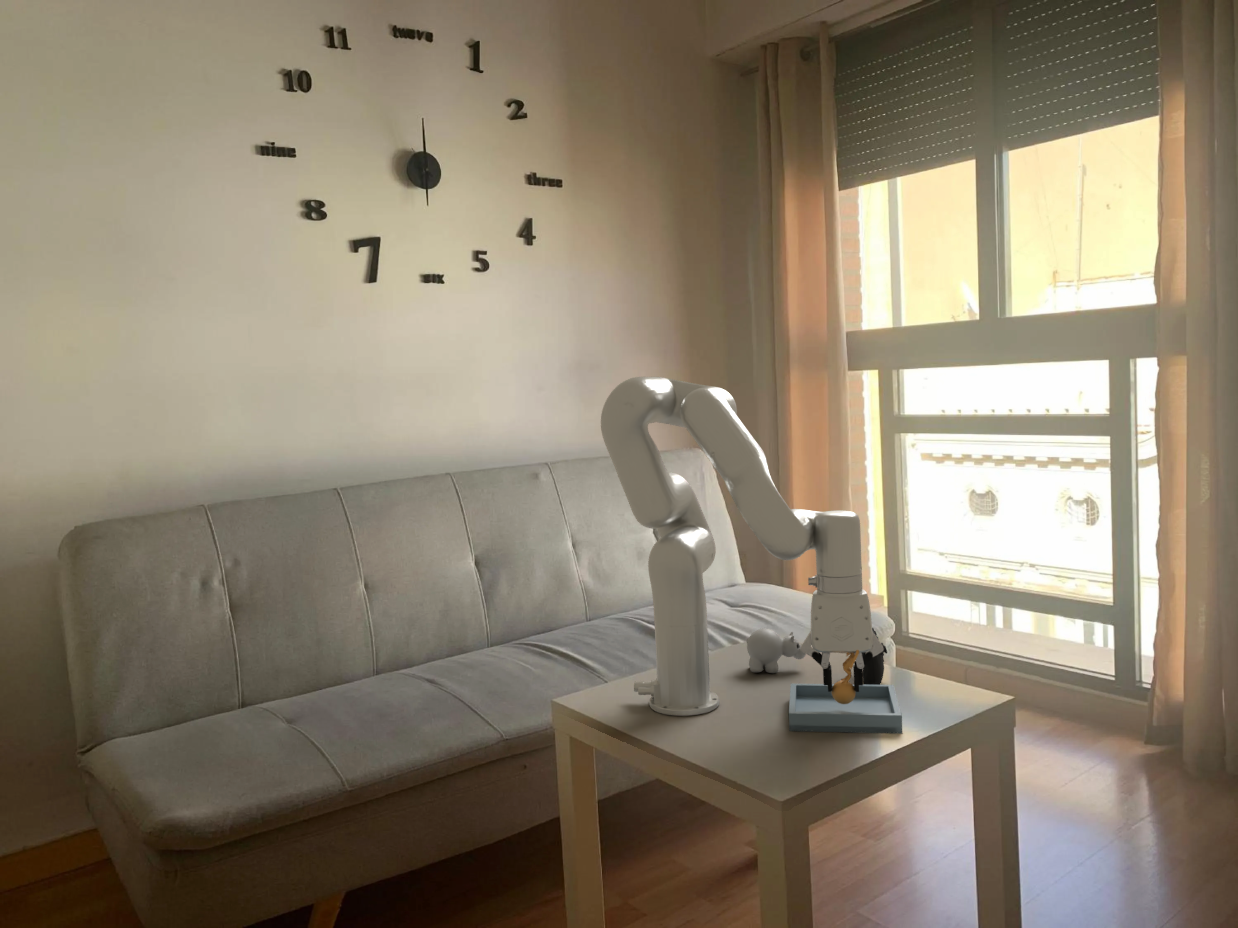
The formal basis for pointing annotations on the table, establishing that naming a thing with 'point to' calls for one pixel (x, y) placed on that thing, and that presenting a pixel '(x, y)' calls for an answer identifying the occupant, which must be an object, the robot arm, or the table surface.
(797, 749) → the table surface
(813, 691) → the tray
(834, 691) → the figurine
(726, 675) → the table surface
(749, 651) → the chubby cartoon animal
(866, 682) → the black elongated piece
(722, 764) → the table surface
